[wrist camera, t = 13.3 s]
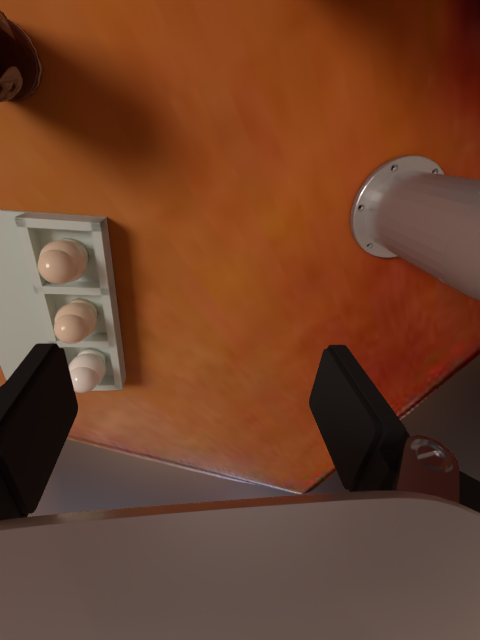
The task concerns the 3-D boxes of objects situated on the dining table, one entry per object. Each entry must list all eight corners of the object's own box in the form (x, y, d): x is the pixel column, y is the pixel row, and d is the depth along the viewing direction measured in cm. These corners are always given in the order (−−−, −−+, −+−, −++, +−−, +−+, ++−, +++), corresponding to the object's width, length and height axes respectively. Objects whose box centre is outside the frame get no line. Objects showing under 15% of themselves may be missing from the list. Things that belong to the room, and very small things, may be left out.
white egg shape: (108, 346, 44) (97, 374, 39) (110, 371, 46) (100, 401, 41) (72, 345, 43) (56, 374, 38) (76, 370, 46) (62, 401, 40)
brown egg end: (89, 235, 36) (71, 252, 31) (95, 273, 38) (79, 294, 33) (46, 233, 35) (19, 249, 30) (54, 271, 38) (31, 293, 32)
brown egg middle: (99, 296, 40) (84, 319, 35) (104, 326, 42) (91, 353, 37) (60, 294, 39) (39, 319, 34) (67, 326, 42) (48, 353, 36)
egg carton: (-58, 205, 33) (-79, 211, 31) (106, 216, 36) (99, 222, 33) (8, 378, 46) (-3, 392, 43) (126, 376, 49) (122, 390, 46)
